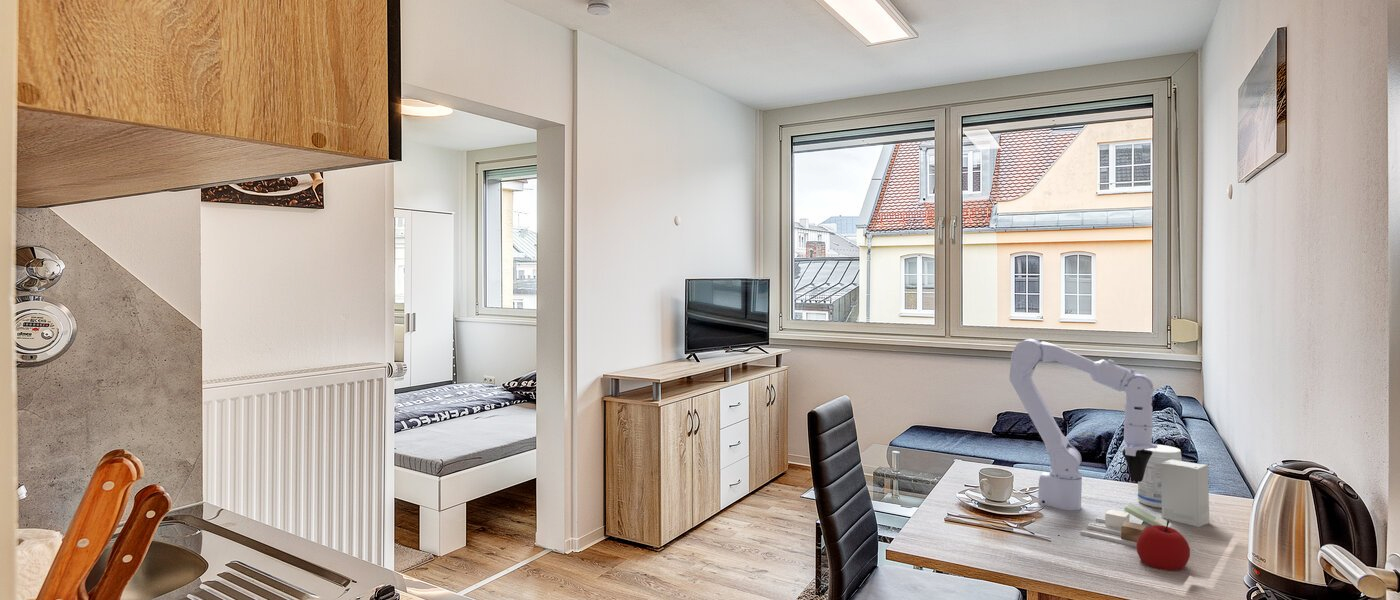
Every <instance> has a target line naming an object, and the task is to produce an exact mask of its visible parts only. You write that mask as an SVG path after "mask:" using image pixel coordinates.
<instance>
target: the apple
mask: <svg viewBox="0 0 1400 600" xmlns="http://www.w3.org/2000/svg"><path fill="white" fill-rule="evenodd" d="M1166 521H1167V526H1161V525H1153V526H1150V527H1148V528H1146V529H1145V530H1144V531H1143V532H1142V533H1141V535H1140V536H1139V538H1138V540H1137V545H1136V551H1137V556H1138V558H1139V559H1140V561H1141V562H1142V563H1143V564H1144V565H1146V566H1148V567H1151V568H1154V569H1156V570H1163V571H1167V572H1168V571H1171V572H1173V571H1174V572H1176V571H1177V572H1178V571H1181V570H1183V569H1184V568H1185V567H1186V565H1187V564H1188V562H1189V560H1190V556H1191V548H1190V545H1189V542H1188V541H1187V540H1186V538H1185V537H1184V535H1182V534H1181V533H1180V532H1179V531H1178V530H1176V529H1174V528H1172V527H1168V524H1169V523H1170V520H1169V519H1166Z"/></svg>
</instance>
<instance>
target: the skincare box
mask: <svg viewBox="0 0 1400 600" xmlns="http://www.w3.org/2000/svg"><path fill="white" fill-rule="evenodd" d="M1209 490H1210V489H1209V466H1208V464H1203V463H1196V462H1190V461H1184V460H1181V461H1178V460H1173V459H1171V460H1168V461H1165V462H1162V463H1161V495H1162V508H1161V519H1164V520H1165V519H1166V520H1168V521H1172V522H1178V523H1182V524H1185V525H1189V526H1194V527H1197V528H1199V527H1202V526H1203V527H1204V526H1205V525H1207V524H1210V500H1209V499H1210V495H1209Z"/></svg>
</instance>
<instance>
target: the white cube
mask: <svg viewBox="0 0 1400 600" xmlns="http://www.w3.org/2000/svg"><path fill="white" fill-rule="evenodd" d="M1104 514H1105V516H1104V519H1105V523H1104V524H1105V525H1104V526H1108V527H1113V528H1118V529H1121V526H1122V525H1123V524H1124V523H1125V522H1126V521H1127V522H1130V517H1131V516H1130V515H1131V514H1130V513H1127V512H1126V511H1121V510H1115V509H1108V510H1107V511H1106V512H1105V513H1104Z"/></svg>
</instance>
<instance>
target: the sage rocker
mask: <svg viewBox="0 0 1400 600" xmlns="http://www.w3.org/2000/svg"><path fill="white" fill-rule="evenodd" d="M1123 512H1126V513H1130V515H1131V516H1133V517H1135V518H1137V519H1139V520H1141V521H1142V522H1143V521H1144V522H1146V523H1148V524H1150V525H1152V526H1153V525H1161V526H1167V520H1165V519H1164V518H1162V517H1160V516H1155V515H1153V514H1152V513H1150V512H1147V510H1144V509H1142V508H1140V507H1138V506H1136V505H1135V504H1132V503H1131V502H1129V503H1128V504H1127V505H1126V506H1125V508H1124V509H1123ZM1172 526H1173V524H1172V523H1171V522H1169V524H1168V527H1170V528H1172Z"/></svg>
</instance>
